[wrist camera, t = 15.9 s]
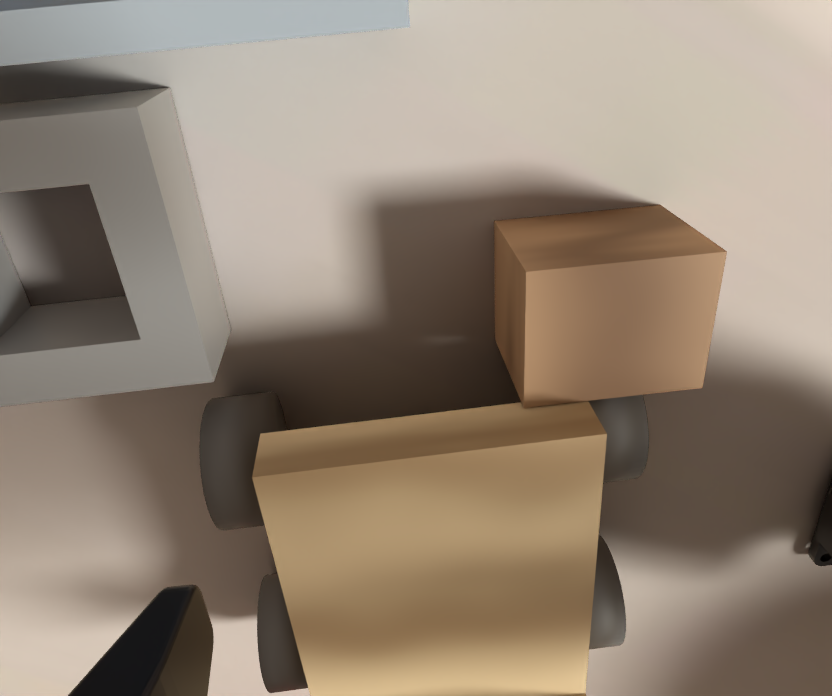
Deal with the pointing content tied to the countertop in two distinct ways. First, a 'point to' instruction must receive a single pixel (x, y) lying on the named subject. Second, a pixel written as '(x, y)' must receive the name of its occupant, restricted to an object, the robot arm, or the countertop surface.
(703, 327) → the block
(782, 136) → the countertop surface
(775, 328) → the countertop surface
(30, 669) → the countertop surface
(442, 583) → the trolley
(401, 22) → the tray
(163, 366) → the pin socket
